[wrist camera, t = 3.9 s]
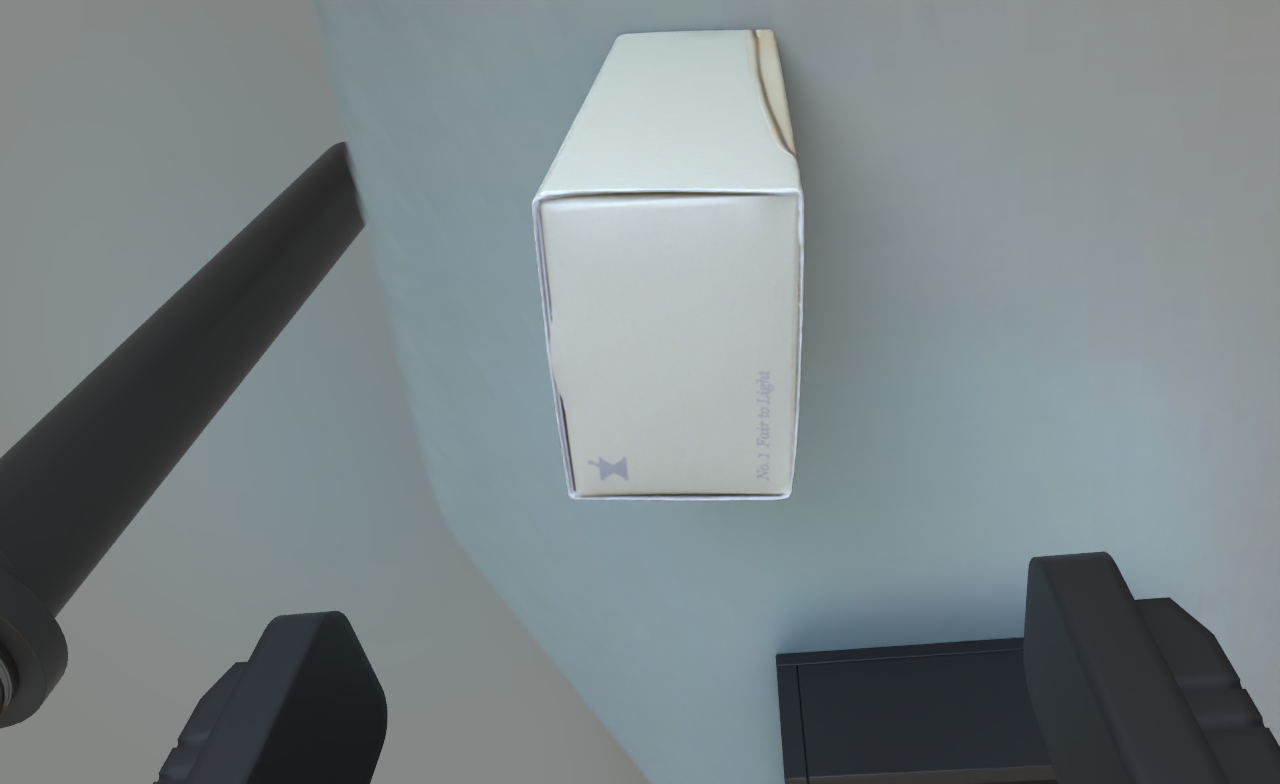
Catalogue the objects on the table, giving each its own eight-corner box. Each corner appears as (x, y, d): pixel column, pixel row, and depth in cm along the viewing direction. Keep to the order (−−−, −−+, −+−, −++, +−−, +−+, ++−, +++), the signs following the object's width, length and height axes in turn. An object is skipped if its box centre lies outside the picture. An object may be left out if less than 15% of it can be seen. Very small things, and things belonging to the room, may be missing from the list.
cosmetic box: (769, 242, 27) (802, 513, 17) (619, 245, 28) (565, 512, 17) (775, 17, 24) (820, 188, 14) (604, 24, 24) (525, 196, 14)
